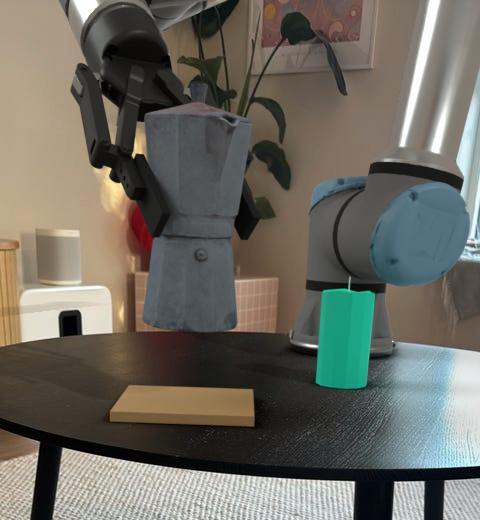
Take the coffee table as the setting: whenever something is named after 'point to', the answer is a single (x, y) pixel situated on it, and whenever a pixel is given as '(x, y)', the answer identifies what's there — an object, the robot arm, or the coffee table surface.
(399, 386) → the coffee table surface
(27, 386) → the coffee table surface
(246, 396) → the cork trivet
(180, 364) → the coffee table surface
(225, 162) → the moka pot
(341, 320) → the candle
